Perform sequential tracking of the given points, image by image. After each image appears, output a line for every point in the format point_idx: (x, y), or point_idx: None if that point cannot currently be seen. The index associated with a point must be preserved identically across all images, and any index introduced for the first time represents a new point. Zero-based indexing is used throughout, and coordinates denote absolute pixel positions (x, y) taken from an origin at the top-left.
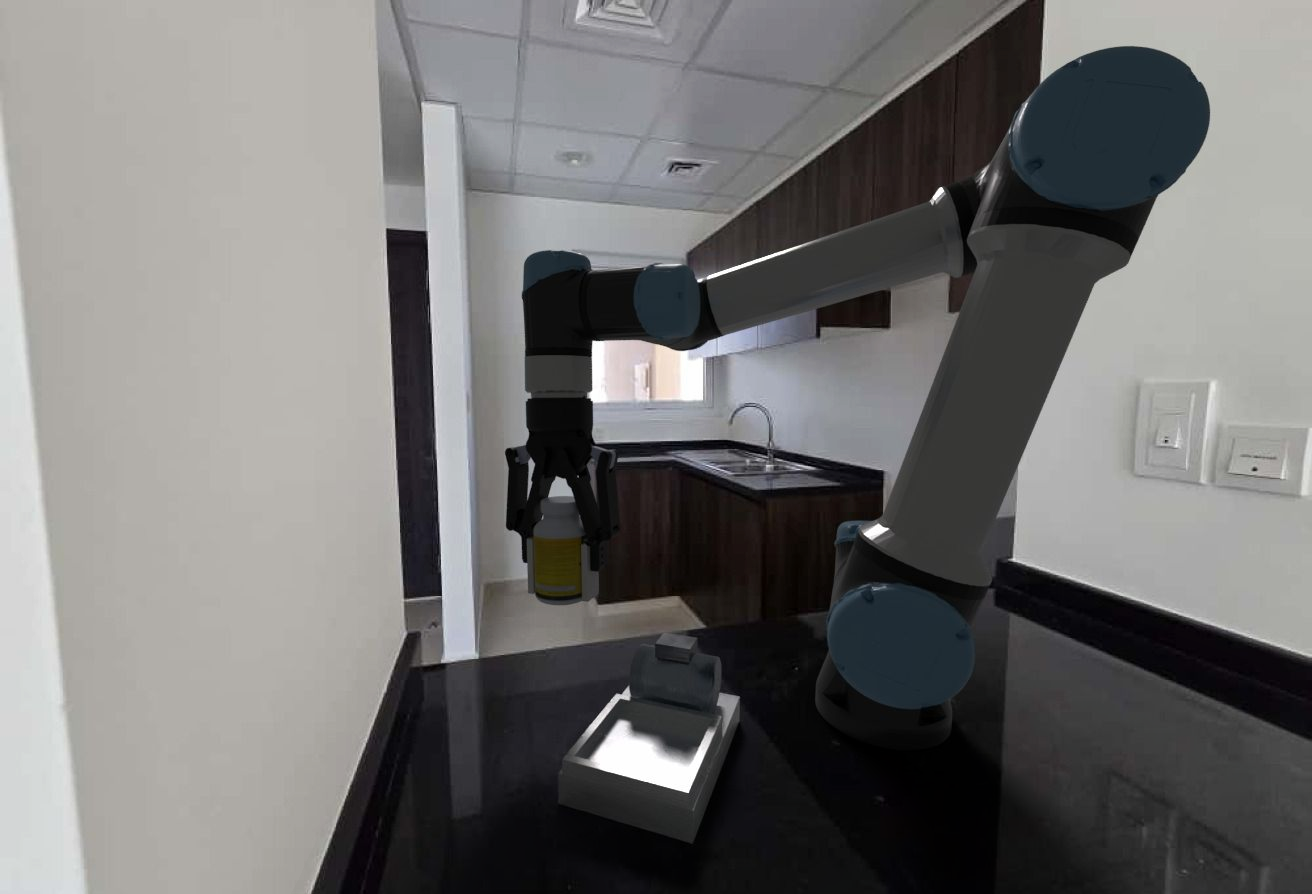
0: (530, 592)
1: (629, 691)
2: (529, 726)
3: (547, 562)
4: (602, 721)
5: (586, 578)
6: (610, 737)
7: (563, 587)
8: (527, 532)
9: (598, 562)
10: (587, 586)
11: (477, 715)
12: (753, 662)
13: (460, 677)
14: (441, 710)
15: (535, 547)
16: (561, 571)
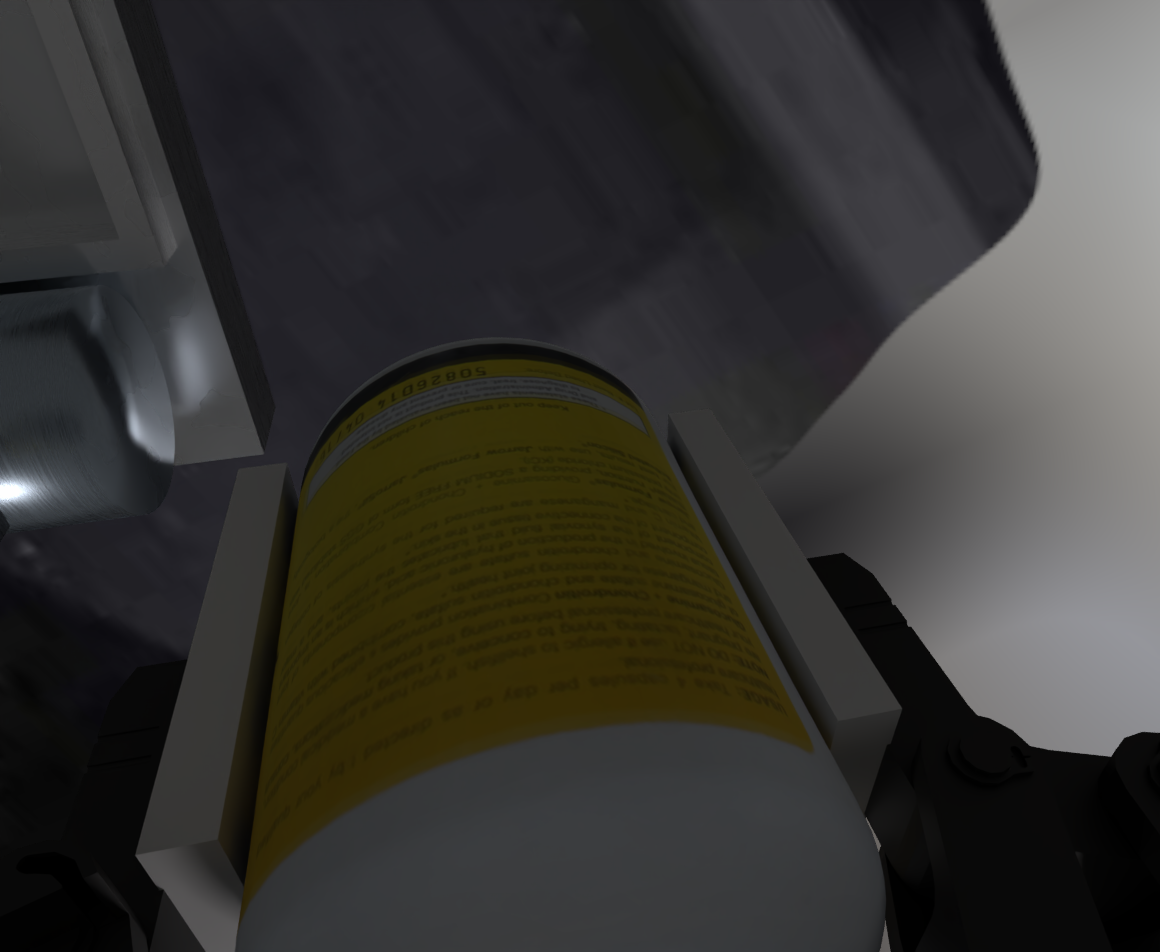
0: (694, 415)
1: (211, 358)
2: (509, 93)
3: (510, 522)
4: (45, 40)
5: (221, 581)
6: (17, 25)
7: (364, 439)
8: (932, 775)
9: (113, 739)
10: (221, 538)
11: (732, 65)
12: (90, 724)
13: (921, 244)
14: (878, 29)
15: (722, 627)
16: (372, 514)
